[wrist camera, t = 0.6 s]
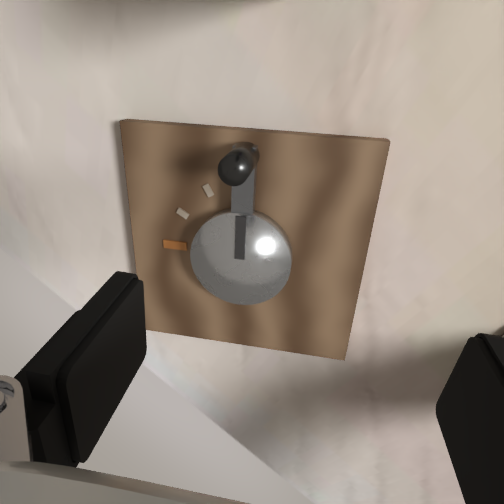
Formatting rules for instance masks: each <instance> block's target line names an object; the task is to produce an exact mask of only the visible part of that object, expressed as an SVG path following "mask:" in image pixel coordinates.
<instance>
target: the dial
mask: <svg viewBox="0 0 504 504" xmlns="http://www.w3.org/2000/svg"><path fill="white" fill-rule="evenodd" d="M259 158H260V154H259V150H258V145H254V144H253V143H251V142H241V143H235V144H234V145H233V146H232V150H231V151H230V152H229V153H228V154H227V155H226V156H225V157H223V158H222V159H221V161H220V162H219V164H218V175H219V177H220V179H221V180H222V181H223V182H224V183H225V184H227V185H229V186H232V192H231V208H229V209H225V210H222V211H219V212H217V213H216V214H214V215H212V216H211V217H210V218H208V219H207V220H206V221H205V223H204V224H203V225H202V226H201V228H200V229H199V230H198V232H197V233H196V235H195V237H194V239H193V241H192V244H191V250H190V259H191V265H192V268H193V271H194V273H195V275H196V277H197V279H198V280H199V282H200V283H201V284H202V285H203V286H204V288H205V289H207V290H208V291H209V292H210V293H211V294H213V295H214V296H216V297H218V298H220V299H222V300H224V301H226V302H230V303H233V304H239V305H253V304H258V303H262V302H265V301H267V300H269V299H271V298H273V297H274V296H275V295H277V294H278V293H279V292H280V291H281V290H282V289H283V287H284V286H285V284H286V282H287V281H288V278H289V275H290V271H291V265H292V247H291V243H290V241H289V238H288V236H287V234H286V233H285V231H284V230H283V228H282V227H281V226H280V225H279V224H278V223H277V222H276V221H275V220H274V219H272V218H271V217H269V216H268V215H266V214H264V213H262V212H260V211H257V210H255V193H256V174H257V163H258V161H259Z"/></svg>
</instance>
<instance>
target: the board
mask: <svg viewBox="0 0 504 504" xmlns="http://www.w3.org/2000/svg"><path fill="white" fill-rule="evenodd" d="M120 128H121V137H122V146H123V155H124V164H125V173H126V182H127V191H128V200H129V209H130V218H131V228H132V237H133V246H134V255H135V264H136V273H137V276H138V279H139V280H142V281H143V284H144V303H145V324H146V330H151V331H158V332H164V333H171V334H177V335H184V336H190V337H197V338H203V339H210V340H216V341H222V342H229V343H235V344H242V345H248V346H255V347H261V348H268V349H274V350H280V351H287V352H293V353H300V354H306V355H313V356H319V357H326V358H332V359H338V360H345V356H346V351H347V346H348V342H349V337H350V332H351V327H352V323H353V318H354V313H355V308H356V303H357V299H358V294H359V289H360V284H361V280H362V275H363V270H364V265H365V261H366V256H367V251H368V246H369V242H370V237H371V232H372V227H373V222H374V218H375V213H376V208H377V203H378V199H379V194H380V189H381V184H382V180H383V175H384V170H385V165H386V160H387V156H388V151H389V146H390V141H389V140H388V139H384V138H371V137H358V136H345V135H332V134H319V133H306V132H292V131H279V130H266V129H253V128H240V127H227V126H214V125H201V124H187V123H174V122H161V121H148V120H135V119H125V120H122V121H120ZM241 142H251V143H253V144H254V145H258V150H259V154H260V158H259V161H258V163H257V174H256V193H255V210H257V211H260V212H262V213H264V214H266V215H268V216H269V217H271V218H272V219H274V220H275V221H276V222H277V223H278V224H279V225H280V226H281V227H282V228H283V230H284V231H285V233H286V234H287V236H288V238H289V241H290V243H291V247H292V265H291V271H290V275H289V278H288V281H287V282H286V284H285V286H284V287H283V289H282V290H281V291H280V292H279V293H278V294H277V295H275V296H274V297H273V298H271V299H269V300H267V301H265V302H262V303H258V304H253V305H239V304H233V303H230V302H226V301H224V300H222V299H220V298H218V297H216V296H214V295H213V294H211V293H210V292H209V291H208V290H207V289H205V288H204V286H203V285H202V284H201V283H200V282H199V280H198V279H197V277H196V275H195V273H194V271H193V268H192V265H191V259H190V250H191V244H192V241H193V239H194V237H195V235H196V233H197V232H198V230H199V229H200V228H201V226H202V225H203V224H204V223H205V221H206V220H207V219H208V218H210V217H211V216H212V215H214V214H216V213H217V212H219V211H222V210H225V209H229V208H231V192H232V186H229V185H227V184H225V183H224V182H223V181H222V180H221V179H220V177H219V175H218V164H219V162H220V161H221V159H222V158H223V157H225V156H226V155H227V154H228V153H229V152H230V151H231V150H232V146H233V145H234V144H235V143H241Z"/></svg>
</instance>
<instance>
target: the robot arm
mask: <svg viewBox="0 0 504 504" xmlns="http://www.w3.org/2000/svg"><path fill="white" fill-rule="evenodd" d="M146 350H147V345H146V324H145V303H144V284H143V281H142V280H139V279H138V276H137V275H136V274H132V273H126V272H120V271H117V272H115V273H114V274H113V275H112V276H111V277H110V279H109V280H108V281H107V282H106V283H105V284H104V285H103V286H102V287H101V288H100V289H99V290H98V292H97V293H96V294H95V295H94V296H93V297H92V298H91V299H90V300H89V301H88V302H87V303H86V305H85V306H84V307H83V308H82V309H81V310H78V311H77V312H75V313H74V314H73V315H72V316H71V317H70V318H69V319H68V321H66V323H65V324H64V325H63V326H62V327H61V328H60V329H59V330H58V331H57V332H56V333H55V334H54V335H53V336H52V337H51V339H50V340H49V341H48V342H47V343H46V344H45V345H44V346H43V347H42V348H41V349H40V350H39V352H37V354H36V355H35V356H34V357H33V358H32V359H31V360H30V361H29V362H28V363H27V364H26V366H24V368H22V370H21V371H20V372H19V373H18V374H17V375H16V376H15V377H14V378H12V377H9V376H5V375H4V376H3V375H0V504H249V503H244V502H239V501H235V500H230V499H226V498H221V497H216V496H211V495H207V494H202V493H197V492H193V491H188V490H183V489H179V488H174V487H169V486H165V485H160V484H155V483H151V482H146V481H141V480H137V479H132V478H127V477H121V476H116V475H111V474H106V473H101V472H96V471H91V470H85V469H80V468H76V467H77V465H78V463H79V462H81V463H84V462H85V461H86V460H87V459H88V458H89V456H90V454H91V452H92V450H93V449H94V447H95V445H96V444H97V442H98V440H99V438H100V436H101V435H102V433H103V431H104V429H105V428H106V426H107V424H108V422H109V421H110V419H111V417H112V415H113V413H114V412H115V410H116V408H117V406H118V405H119V403H120V401H121V399H122V398H123V396H124V394H125V392H126V390H127V389H128V387H129V385H130V383H131V382H132V380H133V378H134V376H135V375H136V373H137V371H138V369H139V367H140V366H141V364H142V362H143V360H144V358H145V355H146ZM436 416H437V419H438V422H439V425H440V428H441V431H442V434H443V437H444V440H445V443H446V446H447V449H448V452H449V455H450V458H451V461H452V464H453V467H454V470H455V473H456V476H457V479H458V482H459V485H460V488H461V491H462V494H463V497H464V500H465V503H466V504H504V335H503V336H502V337H501V336H495V335H489V334H483V333H478V334H477V335H476V336H475V337H470V338H469V339H468V341H467V343H466V345H465V347H464V349H463V351H462V353H461V355H460V357H459V359H458V361H457V363H456V365H455V367H454V369H453V371H452V373H451V375H450V377H449V379H448V381H447V383H446V385H445V387H444V389H443V391H442V393H441V395H440V397H439V399H438V401H437V404H436Z"/></svg>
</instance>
